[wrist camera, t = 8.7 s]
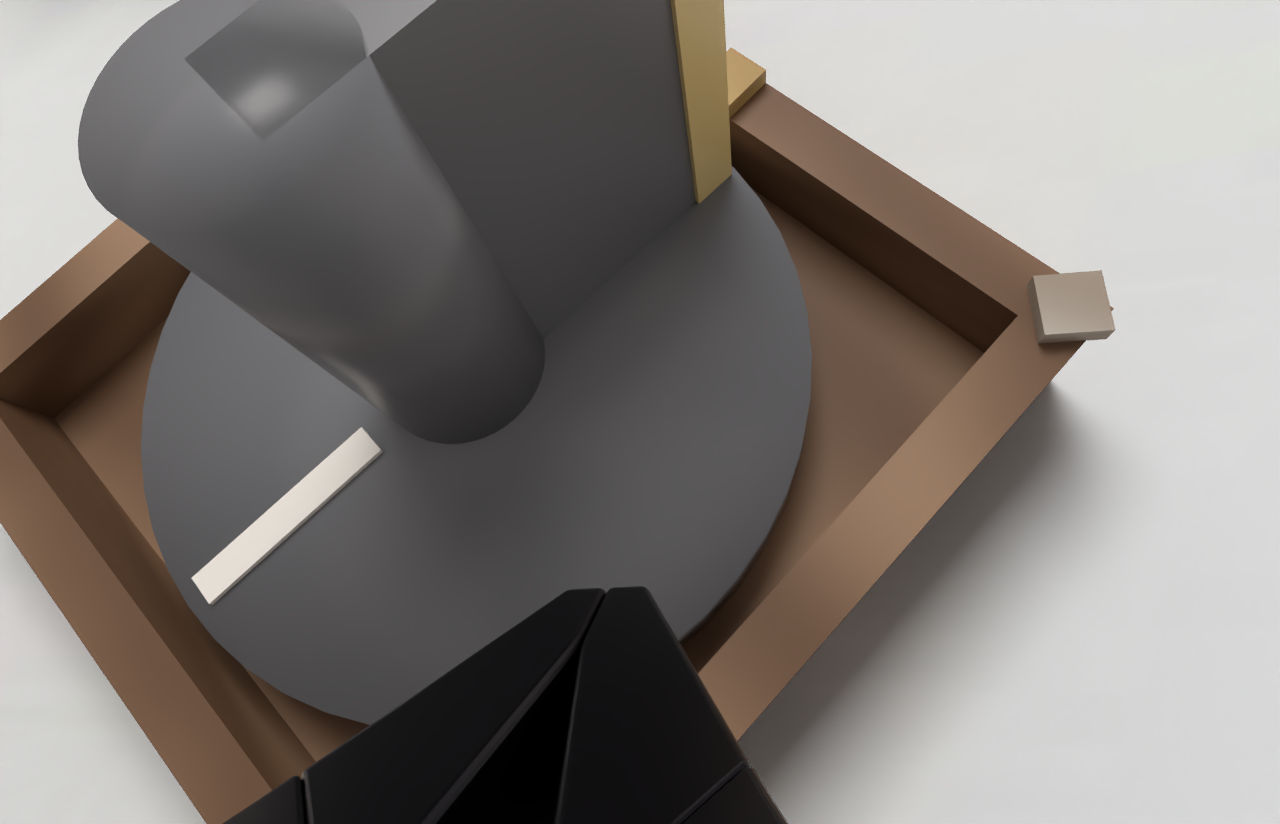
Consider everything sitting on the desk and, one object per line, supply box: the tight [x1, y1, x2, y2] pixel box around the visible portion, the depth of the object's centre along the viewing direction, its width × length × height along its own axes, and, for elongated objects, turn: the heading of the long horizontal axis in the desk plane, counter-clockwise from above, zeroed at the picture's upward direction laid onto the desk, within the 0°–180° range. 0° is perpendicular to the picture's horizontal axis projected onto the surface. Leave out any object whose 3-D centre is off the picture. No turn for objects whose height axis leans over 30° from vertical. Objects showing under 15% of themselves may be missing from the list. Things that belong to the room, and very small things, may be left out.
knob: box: [78, 0, 812, 725], centre depth 14 cm, size 14×14×10 cm
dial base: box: [0, 48, 1115, 824], centre depth 18 cm, size 18×18×4 cm
